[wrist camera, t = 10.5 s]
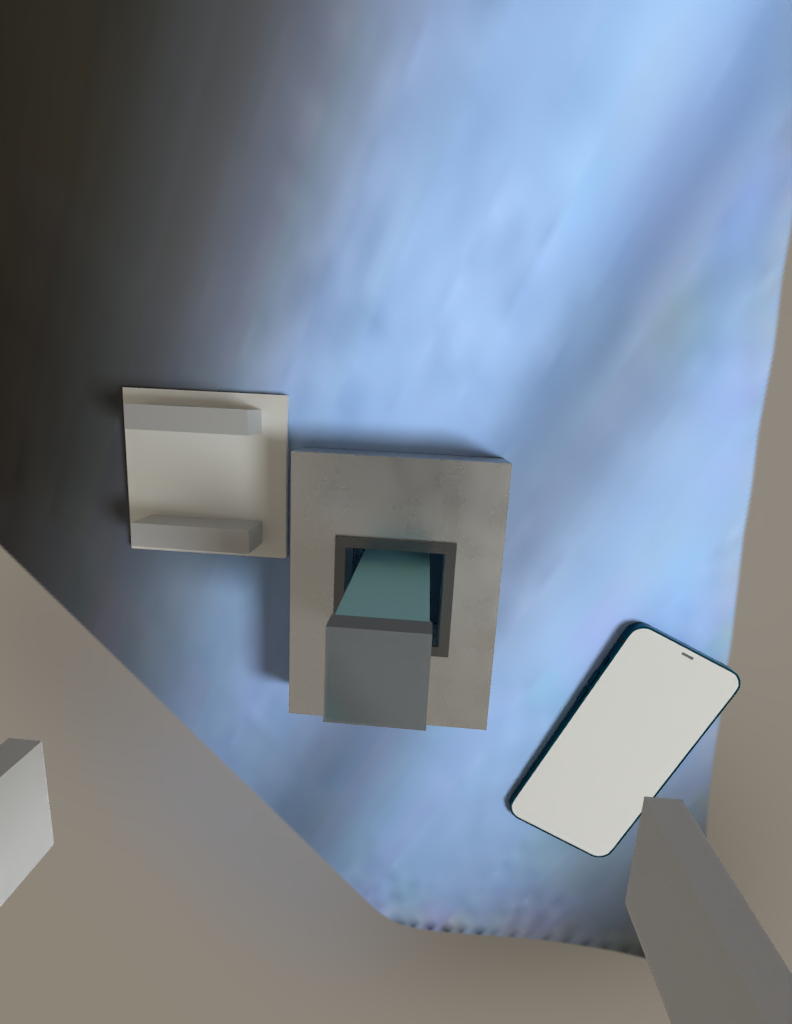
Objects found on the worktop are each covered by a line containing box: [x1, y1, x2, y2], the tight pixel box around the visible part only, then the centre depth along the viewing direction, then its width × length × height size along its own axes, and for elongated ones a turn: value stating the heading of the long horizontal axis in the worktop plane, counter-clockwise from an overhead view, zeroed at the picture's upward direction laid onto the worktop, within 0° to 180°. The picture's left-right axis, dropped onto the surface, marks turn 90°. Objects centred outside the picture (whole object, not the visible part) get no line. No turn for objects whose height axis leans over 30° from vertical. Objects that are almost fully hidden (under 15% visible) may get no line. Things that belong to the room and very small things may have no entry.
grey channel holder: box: [122, 387, 289, 559], centre depth 30 cm, size 10×10×3 cm
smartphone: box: [509, 622, 740, 857], centre depth 33 cm, size 8×1×16 cm
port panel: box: [289, 447, 512, 730], centre depth 30 cm, size 16×12×3 cm
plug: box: [323, 549, 432, 731], centre depth 26 cm, size 4×4×12 cm
